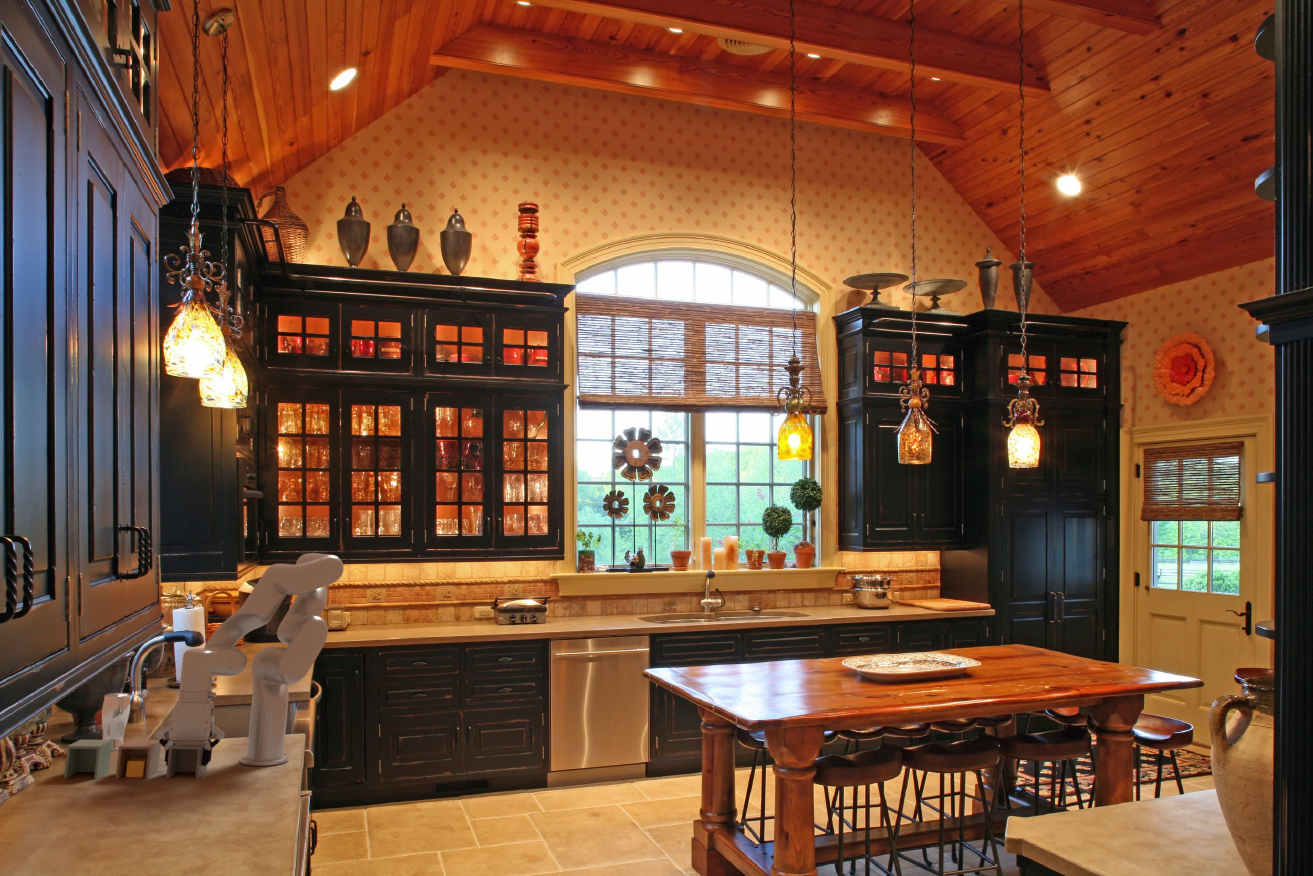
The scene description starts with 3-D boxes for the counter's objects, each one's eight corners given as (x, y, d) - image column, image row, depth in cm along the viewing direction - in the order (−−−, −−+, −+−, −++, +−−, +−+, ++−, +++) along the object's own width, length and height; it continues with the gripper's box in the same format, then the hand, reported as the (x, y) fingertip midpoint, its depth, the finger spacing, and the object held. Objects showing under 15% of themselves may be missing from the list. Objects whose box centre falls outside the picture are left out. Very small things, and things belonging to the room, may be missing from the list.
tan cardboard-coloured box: (126, 771, 240) (130, 740, 241) (158, 771, 241) (161, 740, 242) (115, 778, 232) (119, 746, 233) (147, 778, 234) (151, 746, 235)
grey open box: (175, 771, 242) (179, 740, 243) (206, 771, 243) (209, 740, 244) (166, 778, 235) (169, 746, 235) (197, 778, 236) (200, 746, 237)
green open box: (76, 771, 238) (80, 739, 239) (108, 771, 239) (112, 739, 240) (63, 778, 230) (67, 746, 231) (96, 778, 232) (100, 746, 232)
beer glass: (120, 744, 268) (125, 692, 270) (129, 748, 263) (135, 695, 265) (93, 747, 263) (100, 694, 264) (103, 752, 258) (109, 697, 260)
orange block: (131, 773, 238) (133, 757, 239) (148, 773, 239) (149, 757, 240) (125, 777, 234) (127, 761, 235) (142, 777, 235) (144, 761, 236)
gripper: (233, 695, 246) (226, 761, 244) (164, 693, 243) (156, 761, 241) (225, 699, 239) (218, 768, 237) (154, 698, 236) (146, 768, 234)
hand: (187, 764), depth 239 cm, fingers open, 8 cm apart
